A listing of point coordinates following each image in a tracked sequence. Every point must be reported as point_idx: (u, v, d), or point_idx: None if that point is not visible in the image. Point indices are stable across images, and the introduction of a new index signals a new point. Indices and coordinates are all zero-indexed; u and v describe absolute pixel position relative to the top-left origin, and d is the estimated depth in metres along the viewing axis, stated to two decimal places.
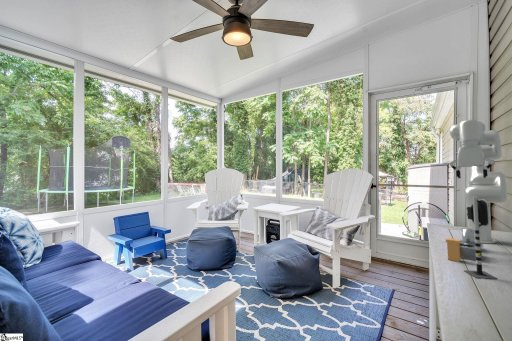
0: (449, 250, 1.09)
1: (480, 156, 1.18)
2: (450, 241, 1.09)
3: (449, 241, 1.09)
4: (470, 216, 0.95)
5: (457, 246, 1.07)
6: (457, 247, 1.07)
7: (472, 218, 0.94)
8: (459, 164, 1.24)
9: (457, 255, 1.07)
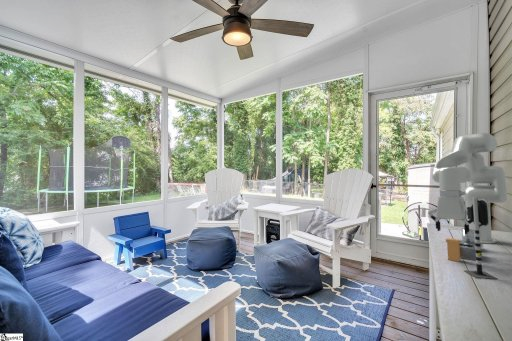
0: (449, 250, 1.09)
1: (461, 209, 1.05)
2: (450, 241, 1.09)
3: (449, 241, 1.09)
4: (470, 216, 0.95)
5: (457, 246, 1.07)
6: (457, 247, 1.07)
7: (472, 218, 0.94)
8: (438, 215, 1.11)
9: (457, 255, 1.07)
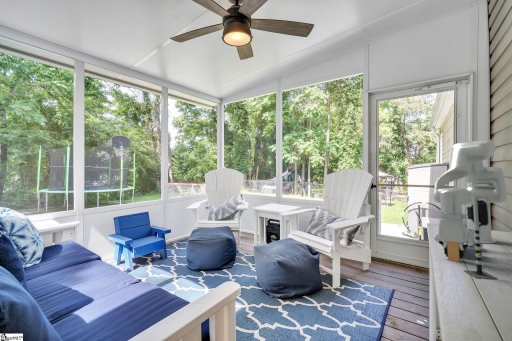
0: (449, 250, 1.09)
1: (463, 233, 1.05)
2: None
3: (449, 241, 1.09)
4: (470, 216, 0.95)
5: (457, 246, 1.07)
6: (457, 247, 1.07)
7: (472, 218, 0.94)
8: (440, 238, 1.11)
9: (457, 255, 1.07)
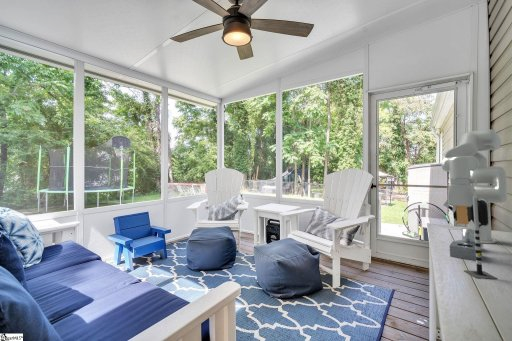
0: (458, 214, 1.14)
1: (471, 196, 1.10)
2: None
3: None
4: (470, 216, 0.95)
5: (466, 209, 1.12)
6: (466, 210, 1.12)
7: (472, 218, 0.94)
8: (449, 203, 1.16)
9: (466, 218, 1.12)
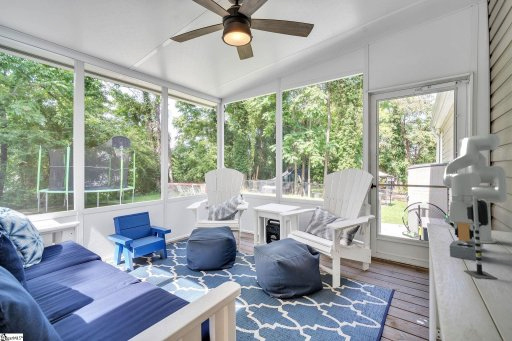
0: (460, 231, 1.14)
1: None
2: None
3: None
4: (470, 216, 0.95)
5: (467, 227, 1.12)
6: (467, 228, 1.12)
7: (472, 218, 0.94)
8: (451, 219, 1.16)
9: (467, 235, 1.12)
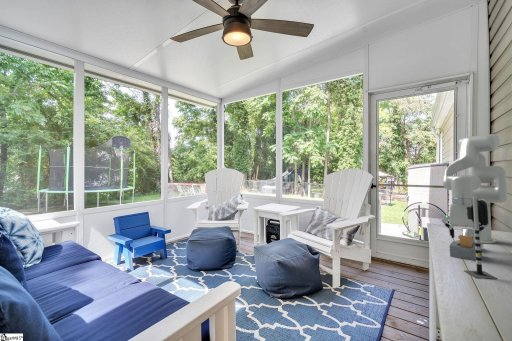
0: None
1: None
2: (463, 238, 1.14)
3: (462, 238, 1.14)
4: (470, 216, 0.95)
5: (470, 242, 1.12)
6: (470, 243, 1.12)
7: (472, 218, 0.94)
8: (451, 222, 1.16)
9: None
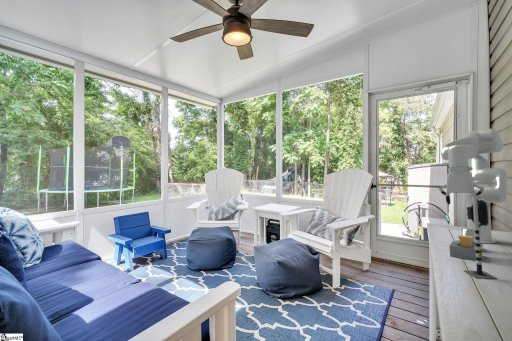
0: None
1: (469, 183, 1.15)
2: (463, 238, 1.14)
3: (462, 238, 1.14)
4: (470, 216, 0.95)
5: (470, 242, 1.12)
6: (470, 243, 1.12)
7: (472, 218, 0.94)
8: (448, 190, 1.21)
9: None
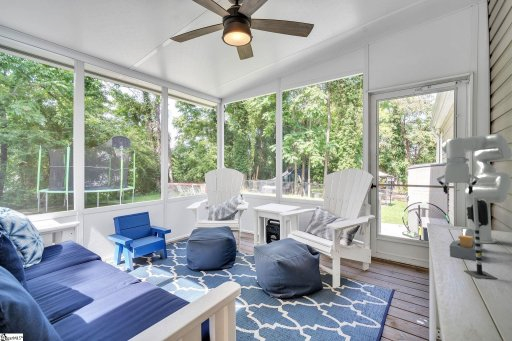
0: None
1: (465, 173, 1.23)
2: (463, 238, 1.14)
3: (462, 238, 1.14)
4: (470, 216, 0.95)
5: (470, 242, 1.12)
6: (470, 243, 1.12)
7: (472, 218, 0.94)
8: (446, 180, 1.29)
9: None
